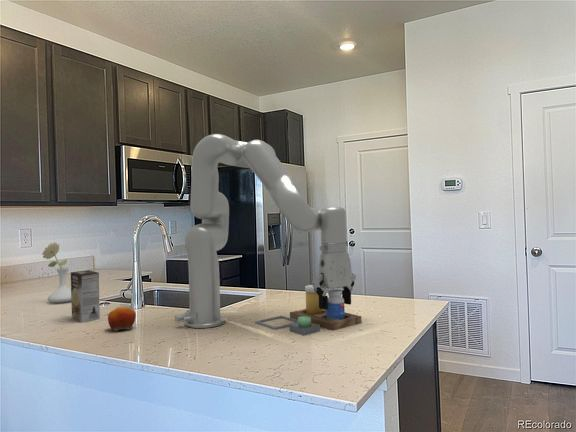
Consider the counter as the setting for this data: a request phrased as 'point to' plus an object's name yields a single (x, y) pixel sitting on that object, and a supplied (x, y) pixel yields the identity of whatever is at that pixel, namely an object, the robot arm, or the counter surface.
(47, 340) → the counter surface
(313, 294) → the seated bottle
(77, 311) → the coffee box
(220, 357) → the counter surface
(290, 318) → the gray square frame
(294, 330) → the button housing
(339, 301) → the pill bottle
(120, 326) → the fruit
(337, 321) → the wooden bottle holder
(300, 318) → the button
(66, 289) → the flower in vase
